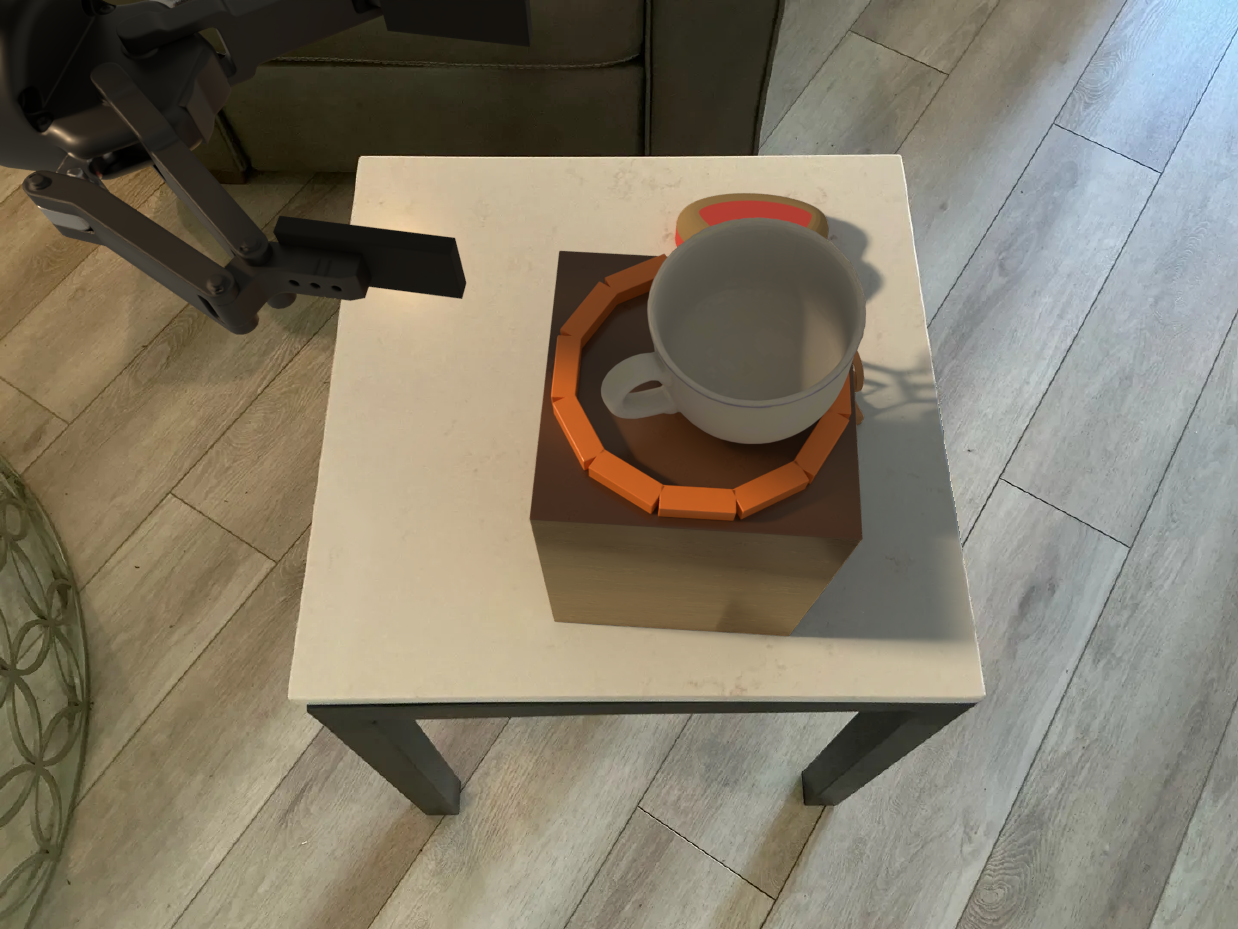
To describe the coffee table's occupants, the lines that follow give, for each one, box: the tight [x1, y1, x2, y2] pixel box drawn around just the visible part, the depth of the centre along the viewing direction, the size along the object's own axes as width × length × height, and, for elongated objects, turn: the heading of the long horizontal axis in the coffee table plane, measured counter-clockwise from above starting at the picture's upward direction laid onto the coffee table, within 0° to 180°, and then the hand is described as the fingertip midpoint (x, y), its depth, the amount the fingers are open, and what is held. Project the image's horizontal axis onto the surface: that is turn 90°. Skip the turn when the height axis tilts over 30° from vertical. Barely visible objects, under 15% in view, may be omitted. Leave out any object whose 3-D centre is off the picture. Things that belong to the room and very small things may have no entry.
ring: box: [551, 253, 851, 521], centre depth 51 cm, size 17×17×1 cm
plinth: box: [529, 250, 864, 637], centre depth 62 cm, size 18×18×22 cm
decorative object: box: [674, 192, 830, 248], centre depth 80 cm, size 14×4×15 cm
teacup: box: [601, 217, 867, 444], centre depth 47 cm, size 14×11×8 cm
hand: (497, 132), depth 36 cm, fingers open, 13 cm apart
